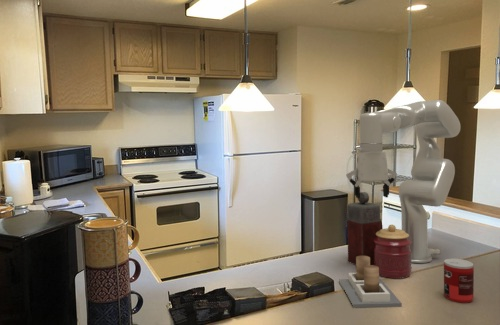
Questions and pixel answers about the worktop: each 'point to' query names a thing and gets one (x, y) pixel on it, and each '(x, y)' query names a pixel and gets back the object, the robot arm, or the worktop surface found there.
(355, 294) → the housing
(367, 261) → the fitted peg
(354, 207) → the red square jar
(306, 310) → the worktop surface
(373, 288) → the loose peg
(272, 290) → the worktop surface
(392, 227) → the canister
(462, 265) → the canned food
